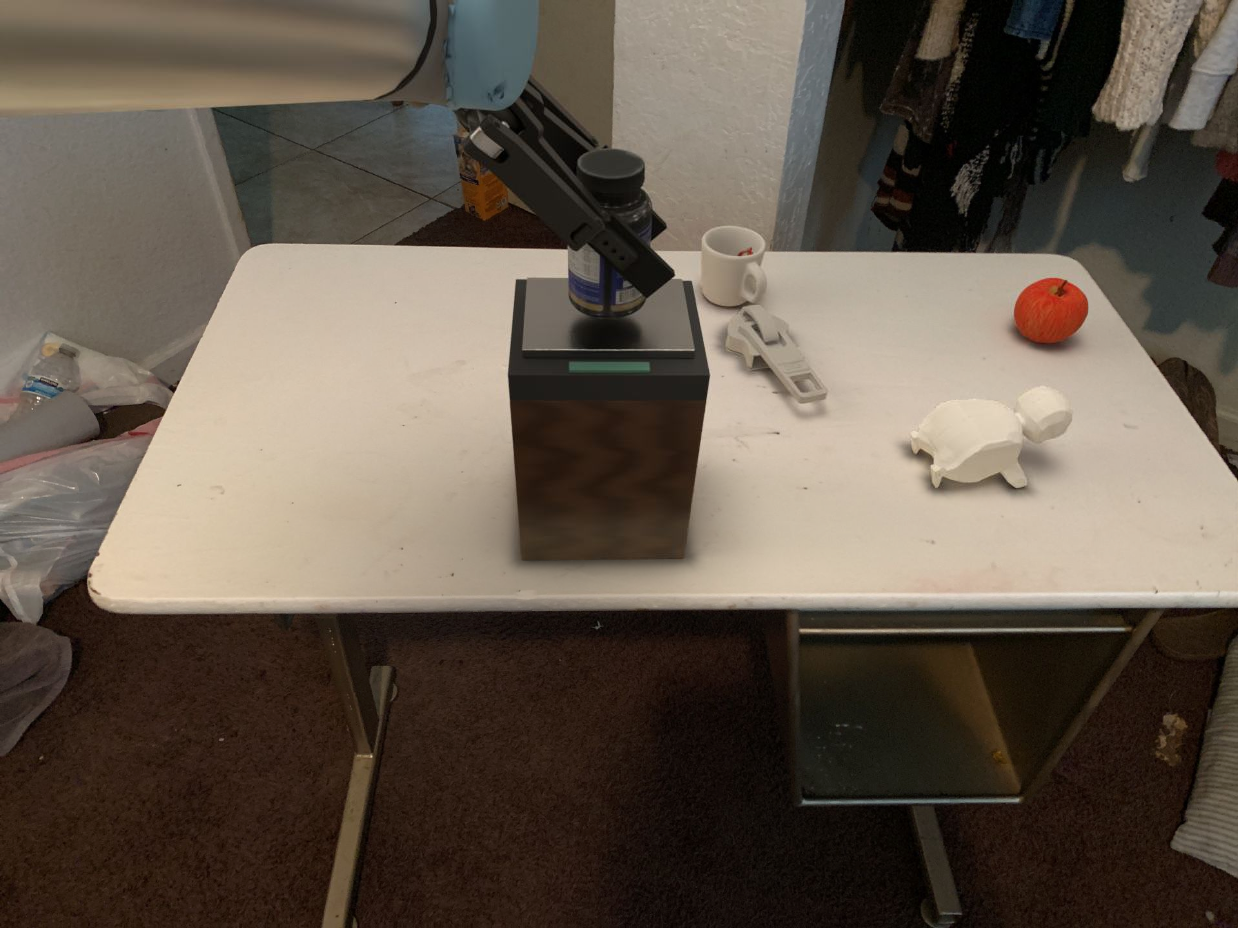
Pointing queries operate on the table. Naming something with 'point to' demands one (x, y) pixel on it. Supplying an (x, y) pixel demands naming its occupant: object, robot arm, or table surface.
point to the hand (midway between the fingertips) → (656, 259)
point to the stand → (605, 477)
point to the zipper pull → (772, 350)
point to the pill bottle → (619, 189)
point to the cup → (732, 266)
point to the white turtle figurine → (989, 434)
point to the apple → (1050, 310)
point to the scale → (605, 347)
